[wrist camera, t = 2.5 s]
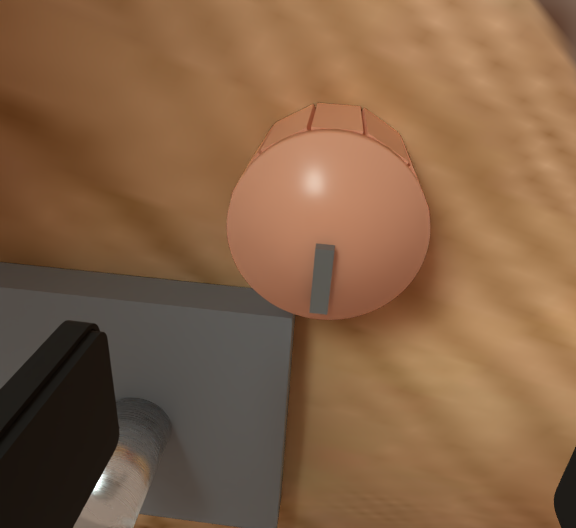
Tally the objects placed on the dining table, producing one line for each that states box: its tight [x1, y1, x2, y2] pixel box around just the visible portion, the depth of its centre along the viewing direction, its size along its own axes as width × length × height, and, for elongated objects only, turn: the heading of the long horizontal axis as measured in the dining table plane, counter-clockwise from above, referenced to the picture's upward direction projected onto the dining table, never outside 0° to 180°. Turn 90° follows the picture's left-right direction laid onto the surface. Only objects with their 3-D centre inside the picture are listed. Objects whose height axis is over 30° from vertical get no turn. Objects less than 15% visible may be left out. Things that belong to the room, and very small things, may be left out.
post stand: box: [0, 262, 295, 528], centre depth 23 cm, size 14×14×7 cm
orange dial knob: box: [227, 103, 430, 320], centre depth 18 cm, size 6×6×5 cm
